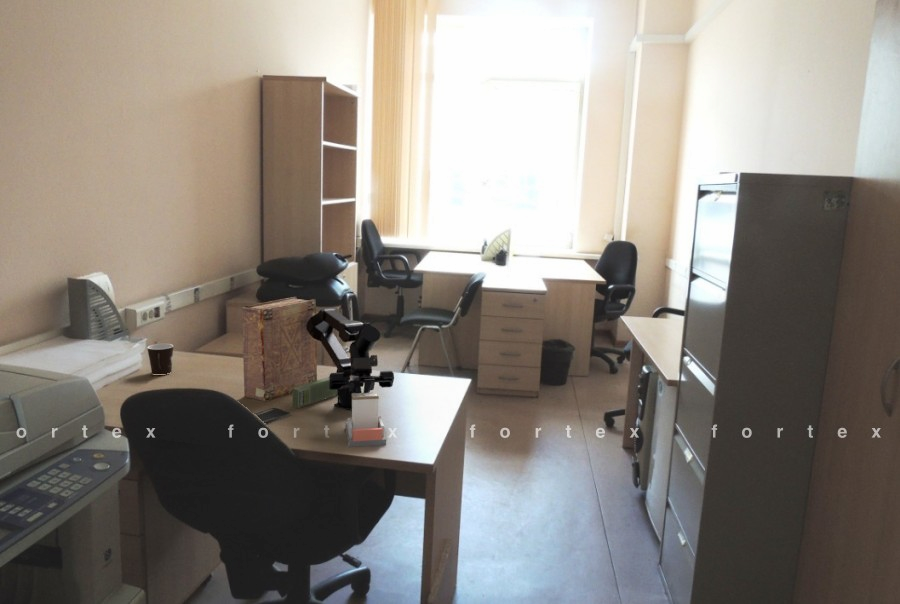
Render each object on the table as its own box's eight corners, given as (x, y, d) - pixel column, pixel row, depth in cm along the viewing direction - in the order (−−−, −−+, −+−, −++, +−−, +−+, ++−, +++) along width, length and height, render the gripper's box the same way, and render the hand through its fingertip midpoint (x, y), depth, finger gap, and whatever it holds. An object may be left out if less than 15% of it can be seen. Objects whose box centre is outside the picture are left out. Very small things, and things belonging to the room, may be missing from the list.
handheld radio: (290, 407, 200) (346, 388, 221) (297, 410, 199) (353, 390, 219) (290, 387, 199) (346, 370, 220) (298, 389, 197) (353, 372, 218)
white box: (351, 427, 180) (351, 393, 178) (377, 426, 181) (377, 392, 180) (352, 431, 177) (352, 397, 175) (378, 430, 178) (378, 396, 176)
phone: (233, 420, 185) (274, 407, 197) (234, 424, 185) (274, 410, 197) (251, 427, 181) (292, 412, 193) (251, 430, 181) (292, 416, 193)
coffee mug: (157, 369, 236) (156, 343, 234) (179, 370, 235) (178, 344, 233) (138, 378, 225) (136, 350, 223) (161, 379, 223) (159, 352, 222)
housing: (345, 428, 184) (345, 413, 183) (379, 426, 186) (380, 411, 185) (348, 446, 171) (348, 430, 170) (386, 444, 173) (386, 428, 172)
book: (297, 378, 230) (296, 296, 225) (317, 382, 226) (316, 299, 221) (244, 396, 208) (241, 306, 203) (264, 402, 204) (263, 310, 199)
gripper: (329, 346, 183) (331, 394, 174) (393, 344, 187) (398, 391, 179) (328, 365, 192) (330, 412, 183) (389, 363, 196) (394, 409, 188)
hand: (363, 406), depth 183 cm, fingers closed
